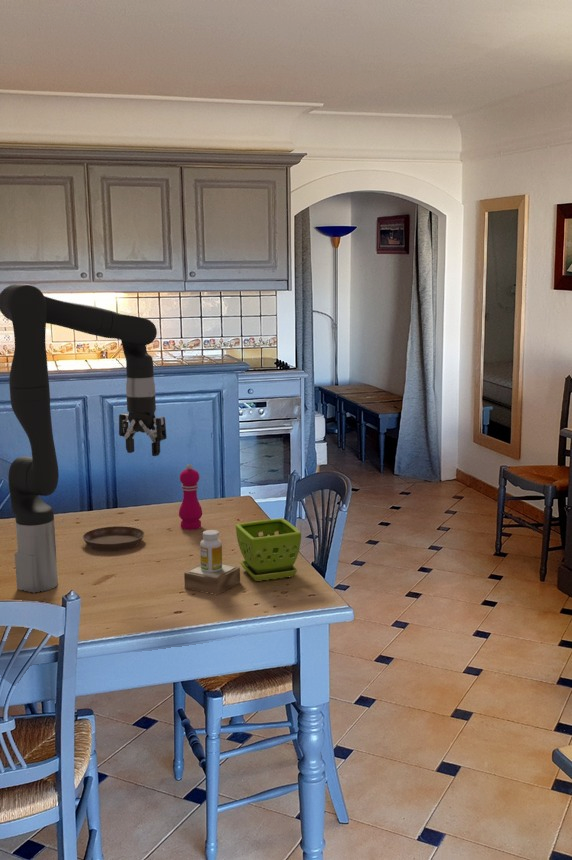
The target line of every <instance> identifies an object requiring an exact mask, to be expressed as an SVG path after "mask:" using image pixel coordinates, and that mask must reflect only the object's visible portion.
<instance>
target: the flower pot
mask: <svg viewBox="0 0 572 860" xmlns="http://www.w3.org/2000/svg"><path fill="white" fill-rule="evenodd" d="M235 531H236V532H235V533H236V539H237V543H238V546H239V550H240V553H241V555H242V557H243V559H244V560H241V561H240V565H241V566H242V568H243V569H244V570H245V572H247V574H248V575H250V577H251V579H253V580H254V581H255V582H256V581H260V582H263V581H262V580H266V581H270V580H269V579H273V580H278V579H277V578H280V579H284V578H283V577H289V576H291V577H293V576H294V575H295V574H297V571H298V569H297V568H296V567H295V566H294V564H295V563H296V561H297V558H298V555H299V552H300V549H301V542H302V532H301V530H299V529H298V528H297V527H296V526H294V525H293V524H292V523H291V522H289V521H288V520H286V519H284V518H271V519H263V520H255V521H248V522H242V523H237V524H235ZM276 532H278V534H275V533H276ZM259 533H262V535H259Z"/></svg>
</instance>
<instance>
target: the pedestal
mask: <svg viewBox="0 0 572 860" xmlns="http://www.w3.org/2000/svg"><path fill="white" fill-rule="evenodd" d="M183 575H184V589H187V588H189V589H188V590H191V589H194V590H193V591H196V590H198V591H197V592H200V591H203V592H202V593H205V592H208V593H207V594H209V593H213V594H212V595H214V594H219V593H221V592H223V591H224V592H226V591H228V590H230V589H231V588H233V587H235V586H237V585H238V584H240V583H241V567H240V566H239V567H238V566H234V565H228V564H224V563H222V569H221V570H220V571H217V572H204V571H202V570H201V564H200V565H199V564H198V565H197V566H195V567H193V568H192V569H189V570H187V571H185V572H184V573H183ZM239 582H240V583H239ZM236 584H237V585H236ZM234 585H235V586H234ZM230 587H231V588H230ZM229 588H230V589H229ZM227 589H228V590H227ZM225 590H226V591H225ZM224 592H223V593H224ZM221 594H222V593H221ZM219 595H220V594H219Z"/></svg>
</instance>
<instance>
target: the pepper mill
mask: <svg viewBox="0 0 572 860" xmlns="http://www.w3.org/2000/svg"><path fill="white" fill-rule="evenodd" d="M199 480H200V474H199V471H197V470H196V469H195V468H193V465H192V464H190V463H189V464H186V468H185V469H183V470H182V471H181V472H180V474H179V481H180V483H181V490H182V493H183V498H182V501H181V504H180V506H179V511H178V517H179V518H180V520H181V521H180V529H183V530H186V531H188V530H189V531H192V530H193V531H195V530H199V529H200V528H201V527H202V521H201V520H200V519H201V518H202V516H203V509H202V506H201V504H200V502H199V500H198V494H197V492H198V491H197V490H198V489H199V487H198V486H199V484H198V482H199ZM198 528H199V529H198Z"/></svg>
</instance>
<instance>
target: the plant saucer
mask: <svg viewBox="0 0 572 860" xmlns="http://www.w3.org/2000/svg"><path fill="white" fill-rule="evenodd" d="M144 537H145V531H144V530H142V529H140V528H137V527H132V526H122V525H121V526H120V525H119V526H115V525H114V526H105V527H99V528H95V529H91V530H88V531H86V532H85V533H84V534H83V535H82V539H83V541H84V542H85V544H87V546H88V547H90V548H92V549H94V550H96V551H97V550H98V551H105V552H114V551H115V552H116V551H124V550H127V549H130V548H134V547H136V546H138V544H140V542H141V541H142V539H143V538H144Z"/></svg>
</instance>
